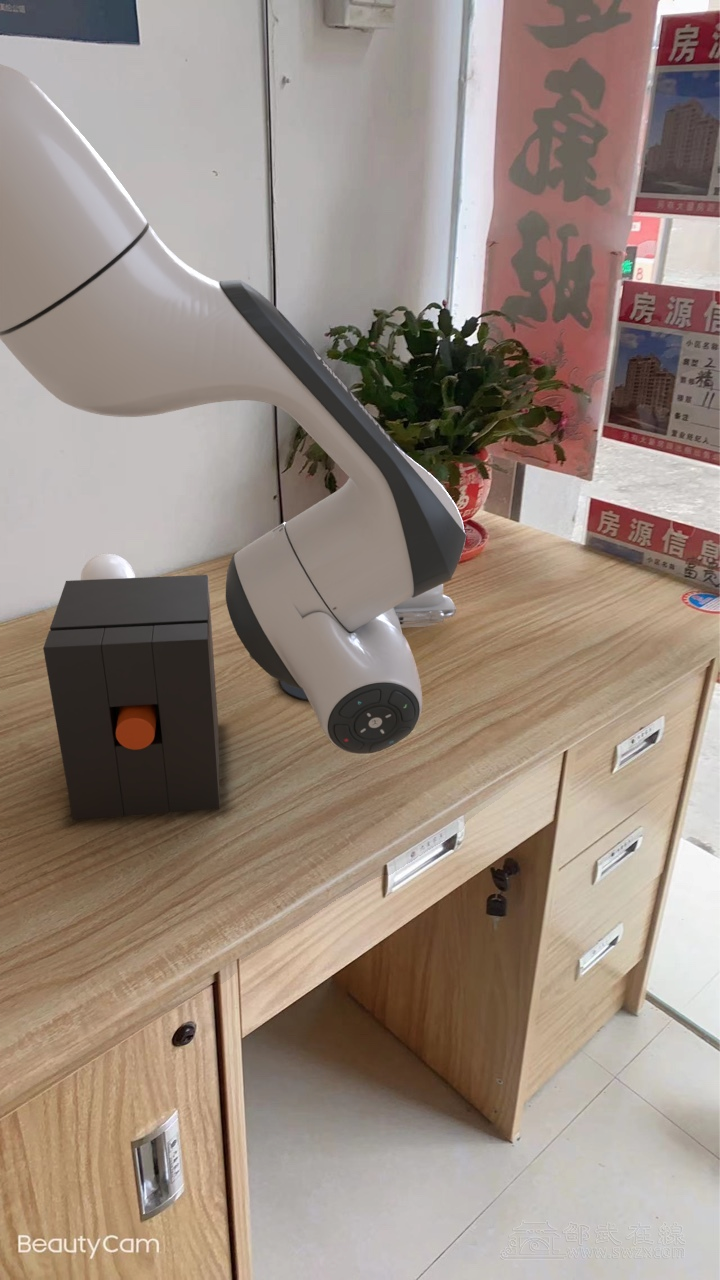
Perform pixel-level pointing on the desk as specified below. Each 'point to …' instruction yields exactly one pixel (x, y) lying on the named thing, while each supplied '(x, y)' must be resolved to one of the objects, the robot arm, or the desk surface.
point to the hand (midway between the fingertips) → (328, 562)
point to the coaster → (294, 691)
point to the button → (136, 726)
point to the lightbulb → (107, 568)
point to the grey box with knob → (135, 694)
